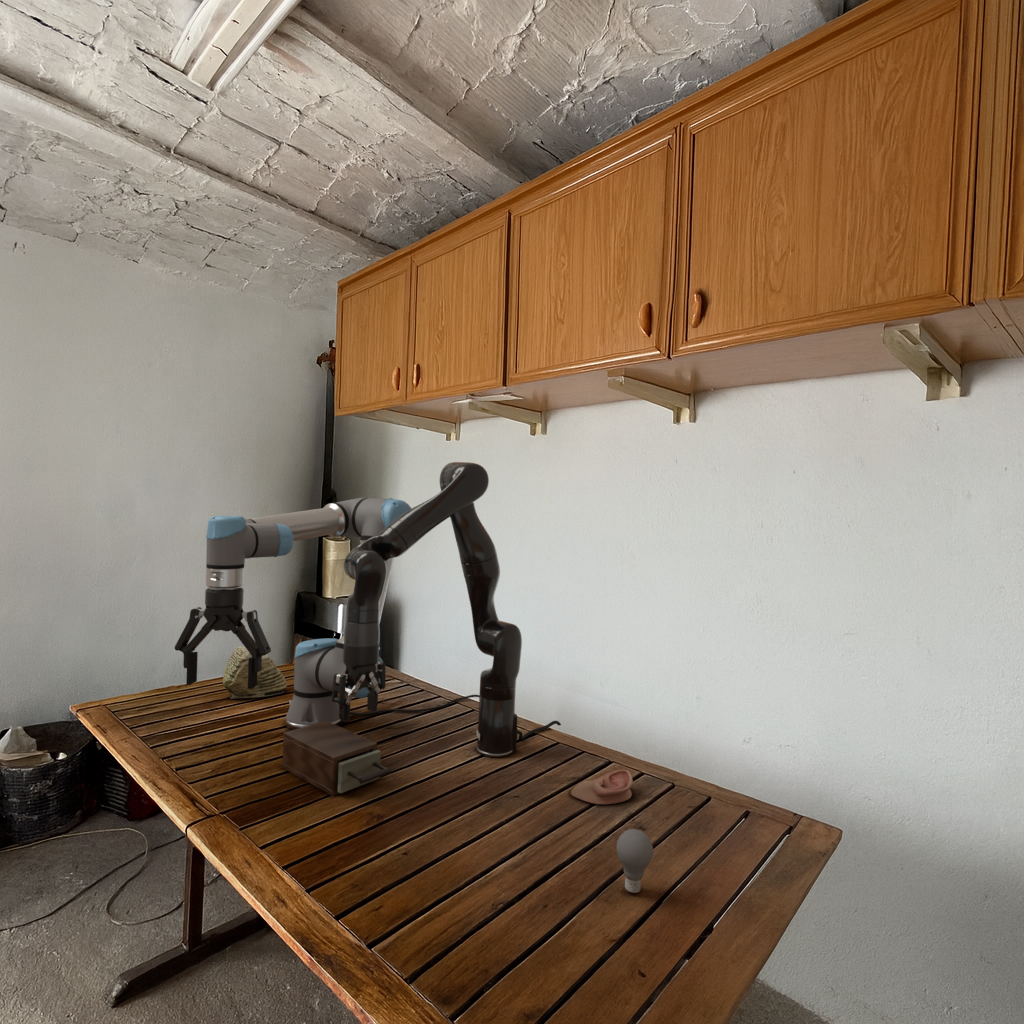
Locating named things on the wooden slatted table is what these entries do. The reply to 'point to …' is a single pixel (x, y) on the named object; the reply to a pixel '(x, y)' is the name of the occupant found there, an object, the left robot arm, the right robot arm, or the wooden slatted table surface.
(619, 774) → the anatomical model
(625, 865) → the light bulb
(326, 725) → the cabinet
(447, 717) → the wooden slatted table surface
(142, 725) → the wooden slatted table surface
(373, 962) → the wooden slatted table surface
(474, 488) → the right robot arm
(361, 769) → the drawer
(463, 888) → the wooden slatted table surface
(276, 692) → the fossil
